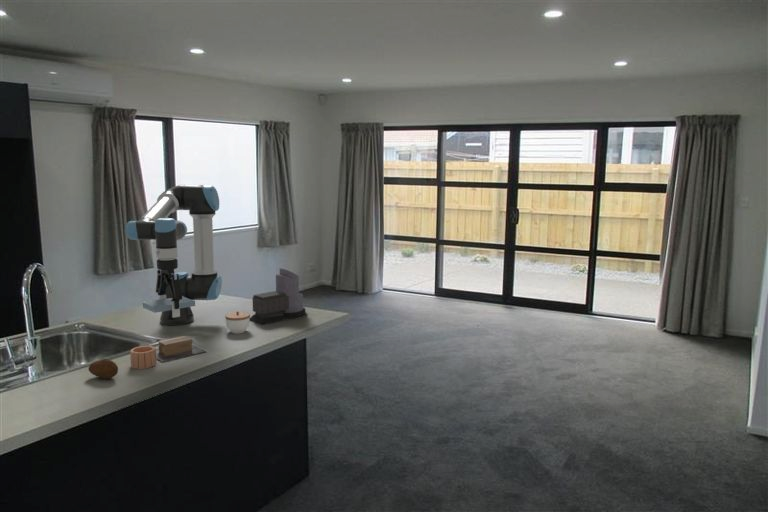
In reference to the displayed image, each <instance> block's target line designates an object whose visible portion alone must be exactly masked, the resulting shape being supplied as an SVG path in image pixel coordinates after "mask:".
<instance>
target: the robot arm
mask: <svg viewBox="0 0 768 512" xmlns="http://www.w3.org/2000/svg"><path fill="white" fill-rule="evenodd" d="M219 209H220V198H219V193H218V191H217V188H216V187H215V186H213V185H208V184H207V185H206V184H179V185H175V186H172V187H170V188H168V189H165V191H162V193H160V195H158V197H157V199H156V202H155V203H154V204H153V205H152V206H151V207H149V209H148V210H147V211H146V212H145V213H144V214H143V215H142V216H141V217H140V219H138V220H129V221H128V222H127V223H126V227H125V234H126V237H127V238H128V239H129V240H134V241H135V240H136V241H155V247H156V248H155V249H156V250H155V254H156V268H157V270H156V274H157V275H156V276H157V277H156V287H155V293H157V296H158V300H162V299H168V298H172V300H171V301H172V310H168V311H162V312H160V313H161V314H160V318H159V321H160V324H162V325H164V326H181V325H182V326H183V325H186V324H189V323H190V324H191V323H192V322H193V321H194V320H195V318H194V317H195V315H194V313H193V311H192V308H191V307H186V308H180V303H179V300H181V299H182V296H183V297H186V298H188V299H191V300H194V301H207V302H208V301H214V300H217V299H218V298H219V297H220V294H221V290H222V283H223V279H222V276H221V275H218V270H216V269H215V266H214V265H215V264H214V263H215V260H214V259H215V258H214V235H213V234H214V233H213V232H214V231H213V229H214V227H213V226H214V225H213V217H215V215H216V212H217V211H219ZM176 211H188V214H189V216H190V217H191V218H192V226H193V227H192V228H193V229H192V230H193V255H194V269H193V270H192V271H191V275H190V274H189V272H188V271H179V272H175V270H176V269H178V267H179V266H178V264H179V262H178V244H177V243H178V241H180V240H182V239H183V238H185V237H186V235H187V233H188V227H187V225H186V223H185V222H183V221H181V220H176V219H175V218H172V217H171V218H170V217H169V216H170V215H171V214H172V213H173V214H174V213H175V212H176Z"/></svg>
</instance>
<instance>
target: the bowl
mask: <svg viewBox="0 0 768 512" xmlns="http://www.w3.org/2000/svg"><path fill="white" fill-rule="evenodd" d="M156 349H157V348H156V347H155V346H153V345H152V346H151V345H142V346H136V347H133V348H131V349H130V351H129V353H130V354H129V355H130V367H131V368H133V369H136V370H143V369H150V368H152V366H153V367H154V365H155V366H156V365H157V359H156ZM149 367H150V368H149Z"/></svg>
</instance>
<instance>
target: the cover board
mask: <svg viewBox="0 0 768 512" xmlns="http://www.w3.org/2000/svg"><path fill="white" fill-rule="evenodd" d="M171 300H172V298H168V299H162V300H159V299H156V300H149V301H143V302H142V308H143V309H146V310H148V311H150V312H152V313H153V314H155V313H162V311H168V310H172V301H171ZM179 303H180V308H186V307H196V300H191V299H188V298H186V297H183V296H182V299H181V300H179Z"/></svg>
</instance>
